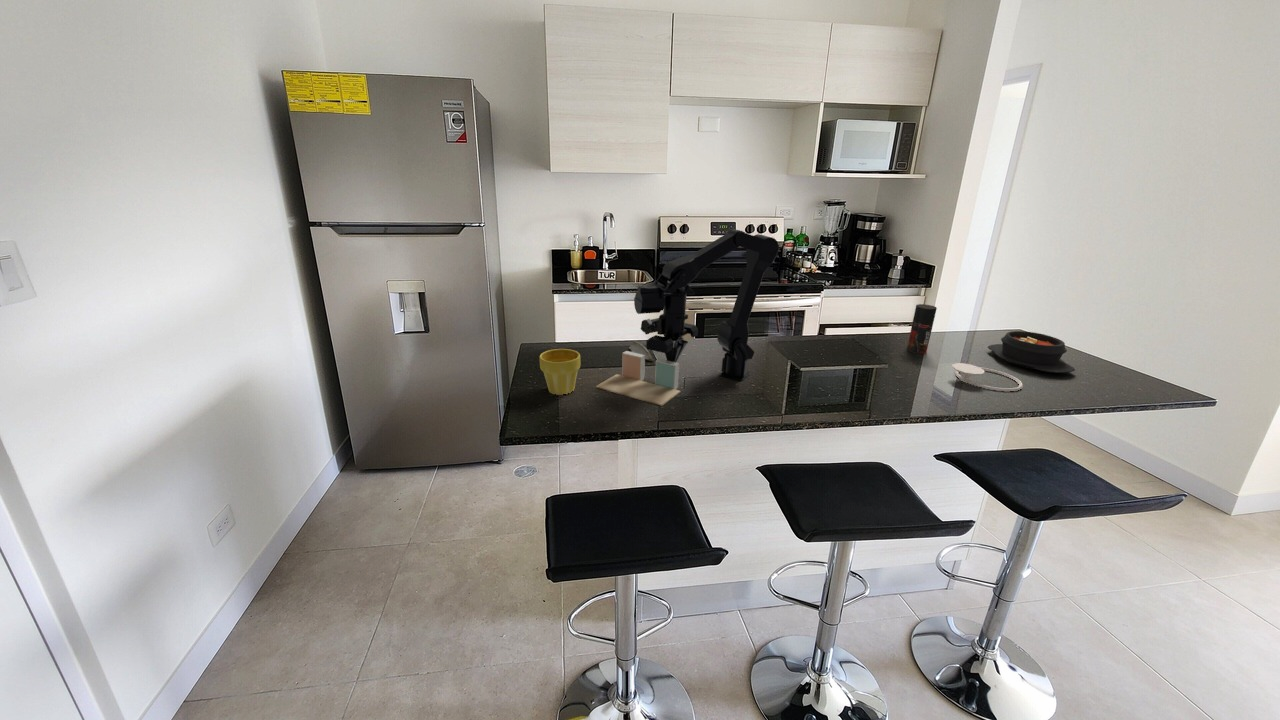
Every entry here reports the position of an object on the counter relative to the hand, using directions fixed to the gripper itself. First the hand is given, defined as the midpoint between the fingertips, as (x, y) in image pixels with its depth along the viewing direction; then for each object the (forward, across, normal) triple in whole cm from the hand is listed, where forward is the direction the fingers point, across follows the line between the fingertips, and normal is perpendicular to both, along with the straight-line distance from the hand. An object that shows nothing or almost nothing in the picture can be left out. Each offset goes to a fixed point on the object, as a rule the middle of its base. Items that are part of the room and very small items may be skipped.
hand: (671, 367), depth 144 cm
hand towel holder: (+5, -54, +73) cm, 91 cm away
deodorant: (+4, -71, +54) cm, 89 cm away
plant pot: (+5, +21, -21) cm, 30 cm away
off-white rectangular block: (+5, +3, -10) cm, 12 cm away
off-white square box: (+5, +2, 0) cm, 5 cm away
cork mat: (+5, +9, -5) cm, 11 cm away
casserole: (+4, -79, +85) cm, 116 cm away
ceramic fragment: (+5, -14, -18) cm, 24 cm away
